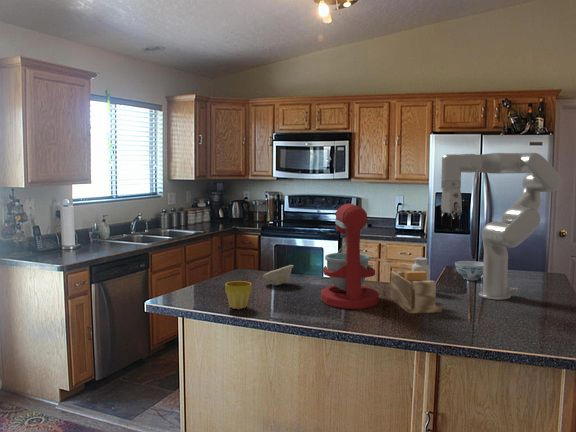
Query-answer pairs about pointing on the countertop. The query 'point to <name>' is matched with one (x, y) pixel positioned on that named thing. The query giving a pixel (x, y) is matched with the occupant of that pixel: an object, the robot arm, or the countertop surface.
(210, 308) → the countertop surface
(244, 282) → the plant pot
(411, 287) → the wooden vise
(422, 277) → the upright wooden block
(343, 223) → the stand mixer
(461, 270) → the chinaware
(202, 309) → the countertop surface
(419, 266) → the pill bottle
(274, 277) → the bowl
